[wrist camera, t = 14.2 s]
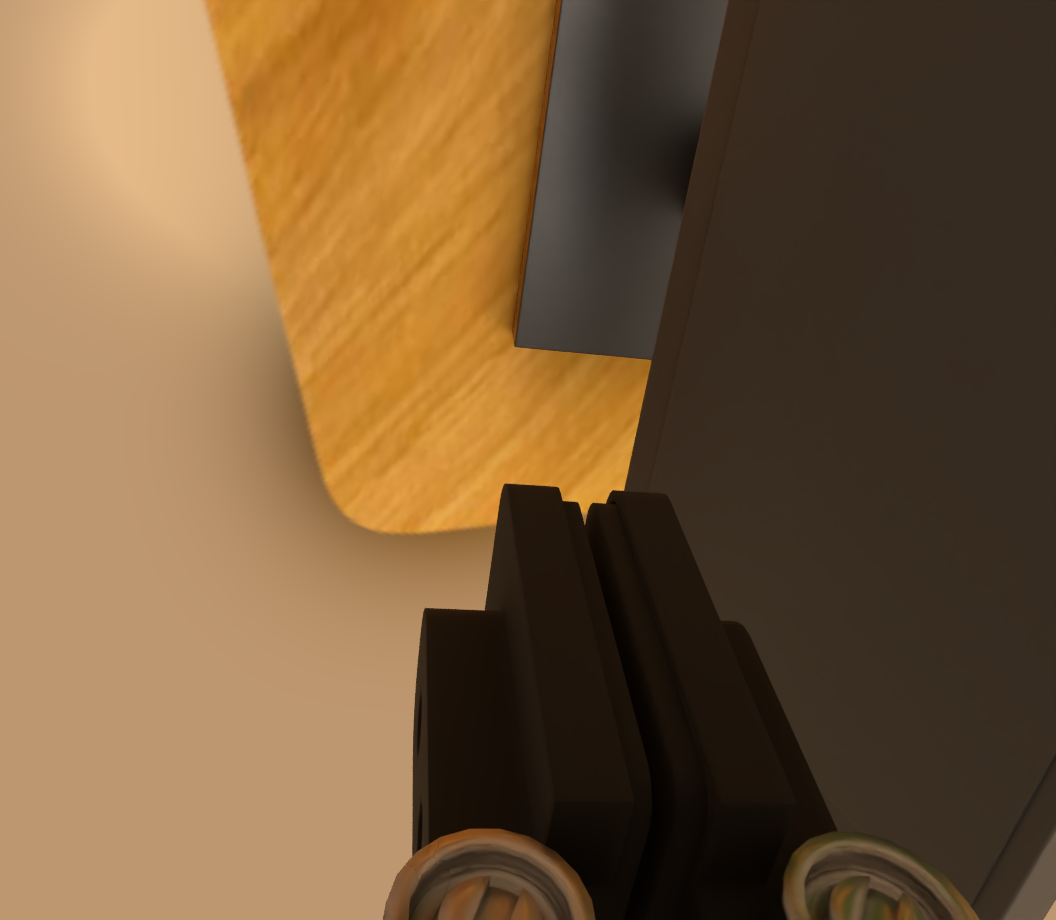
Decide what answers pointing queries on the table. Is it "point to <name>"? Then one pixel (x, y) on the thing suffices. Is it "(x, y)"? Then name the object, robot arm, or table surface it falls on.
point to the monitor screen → (881, 410)
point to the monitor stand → (613, 171)
